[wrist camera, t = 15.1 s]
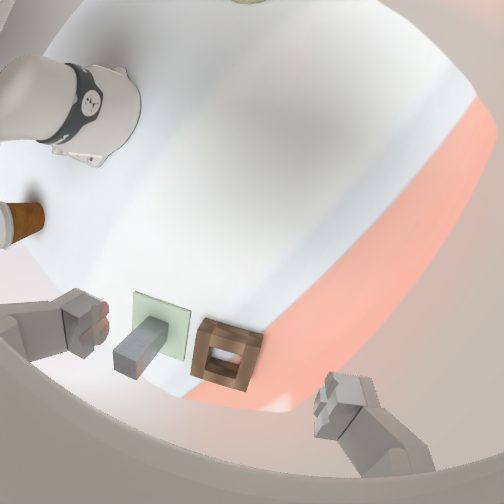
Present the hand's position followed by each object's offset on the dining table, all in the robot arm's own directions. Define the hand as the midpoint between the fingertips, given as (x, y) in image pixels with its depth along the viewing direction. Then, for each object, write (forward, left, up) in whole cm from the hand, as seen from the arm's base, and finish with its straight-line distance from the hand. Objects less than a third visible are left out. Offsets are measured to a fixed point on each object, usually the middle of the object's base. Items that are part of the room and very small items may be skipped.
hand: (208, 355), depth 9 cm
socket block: (-2, -23, -31) cm, 39 cm away
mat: (-15, -23, -31) cm, 41 cm away
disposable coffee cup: (-50, -10, -31) cm, 60 cm away
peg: (-15, -23, -30) cm, 41 cm away
